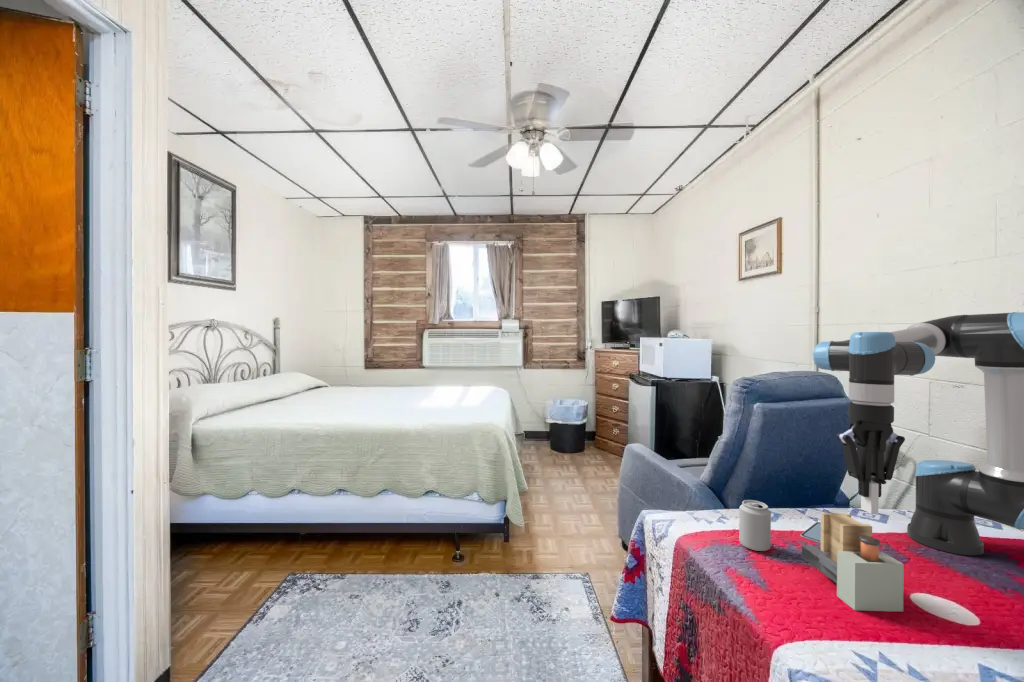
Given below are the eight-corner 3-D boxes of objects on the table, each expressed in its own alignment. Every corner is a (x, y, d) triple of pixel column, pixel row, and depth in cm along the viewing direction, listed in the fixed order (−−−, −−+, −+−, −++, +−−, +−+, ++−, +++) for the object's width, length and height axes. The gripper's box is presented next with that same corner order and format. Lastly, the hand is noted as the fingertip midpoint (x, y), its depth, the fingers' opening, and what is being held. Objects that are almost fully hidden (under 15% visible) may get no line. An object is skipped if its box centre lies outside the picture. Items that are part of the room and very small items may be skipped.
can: (775, 555, 111) (775, 510, 111) (744, 552, 112) (744, 507, 112) (764, 541, 118) (764, 499, 118) (735, 539, 119) (735, 497, 119)
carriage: (848, 573, 100) (849, 513, 100) (873, 590, 93) (873, 526, 93) (819, 572, 100) (819, 512, 100) (841, 589, 93) (841, 525, 94)
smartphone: (799, 535, 122) (817, 521, 131) (799, 537, 122) (816, 524, 131) (829, 544, 116) (846, 529, 125) (829, 547, 116) (846, 532, 125)
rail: (813, 557, 110) (813, 545, 110) (866, 596, 93) (866, 583, 93) (801, 556, 110) (801, 545, 110) (852, 596, 93) (852, 582, 93)
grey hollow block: (882, 597, 93) (882, 552, 93) (903, 611, 88) (903, 564, 88) (836, 595, 93) (837, 551, 93) (854, 610, 88) (855, 563, 88)
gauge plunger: (870, 553, 92) (871, 535, 92) (884, 561, 88) (884, 543, 88) (855, 553, 92) (855, 535, 92) (868, 561, 89) (868, 542, 89)
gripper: (886, 400, 94) (885, 505, 94) (827, 399, 94) (826, 504, 94) (917, 406, 86) (916, 519, 86) (853, 404, 87) (852, 518, 87)
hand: (869, 511), depth 90 cm, fingers closed
